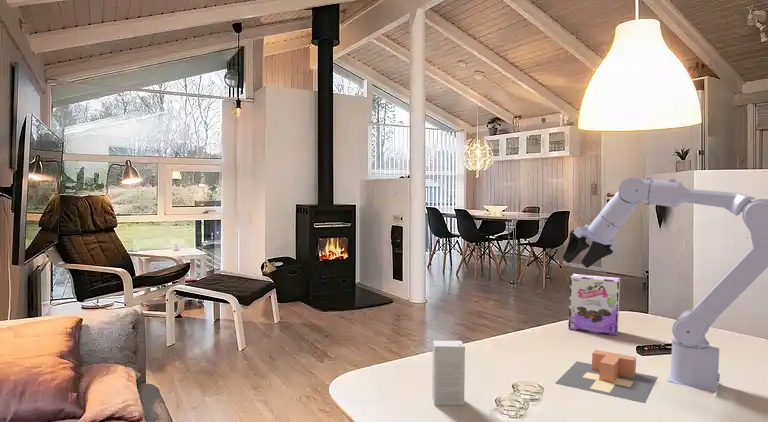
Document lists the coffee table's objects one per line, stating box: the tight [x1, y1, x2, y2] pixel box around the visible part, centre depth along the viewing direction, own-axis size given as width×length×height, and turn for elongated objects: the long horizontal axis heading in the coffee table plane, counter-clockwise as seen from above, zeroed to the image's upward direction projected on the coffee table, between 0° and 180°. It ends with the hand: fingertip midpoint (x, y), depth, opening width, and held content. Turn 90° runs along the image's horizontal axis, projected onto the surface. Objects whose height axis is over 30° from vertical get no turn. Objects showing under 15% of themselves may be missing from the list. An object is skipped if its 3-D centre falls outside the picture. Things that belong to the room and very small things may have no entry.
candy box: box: [567, 273, 621, 336], centre depth 164 cm, size 14×6×16 cm, turn 62°
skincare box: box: [431, 340, 466, 407], centre depth 109 cm, size 6×4×12 cm
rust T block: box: [591, 349, 637, 383], centre depth 124 cm, size 9×9×4 cm
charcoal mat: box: [554, 361, 658, 404], centre depth 121 cm, size 18×18×1 cm
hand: (575, 262), depth 136 cm, fingers open, 7 cm apart
